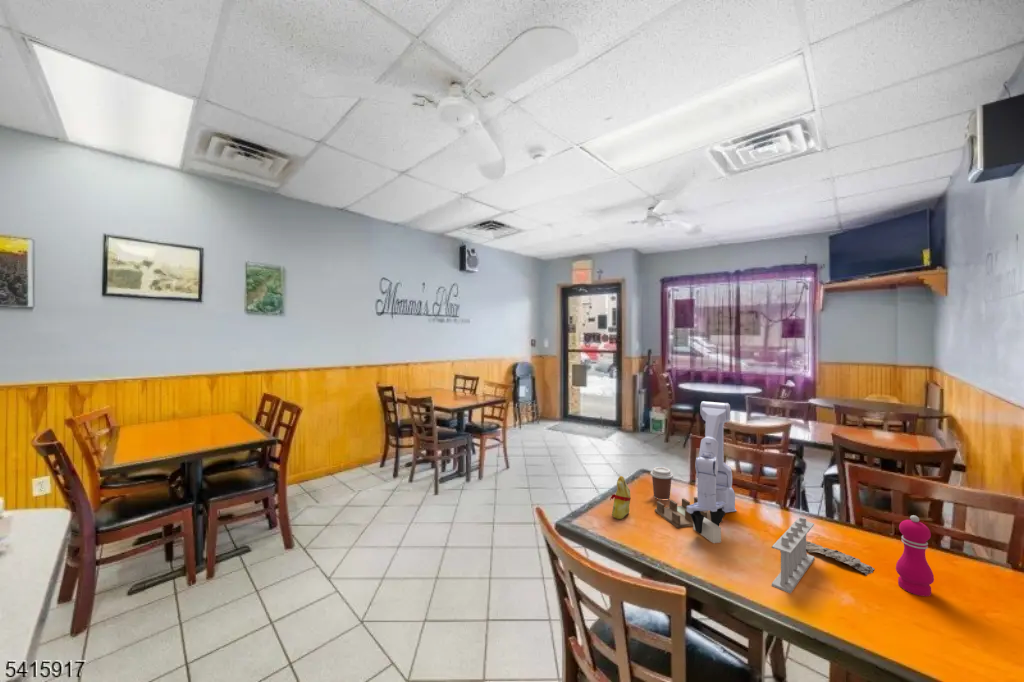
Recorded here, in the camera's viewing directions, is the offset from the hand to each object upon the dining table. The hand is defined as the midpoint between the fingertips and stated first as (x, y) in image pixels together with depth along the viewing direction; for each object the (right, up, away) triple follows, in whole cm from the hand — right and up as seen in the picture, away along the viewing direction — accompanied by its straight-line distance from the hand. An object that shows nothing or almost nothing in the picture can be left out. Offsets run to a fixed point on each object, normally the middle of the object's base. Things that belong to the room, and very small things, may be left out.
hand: (706, 531), depth 136 cm
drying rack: (0, -1, +14) cm, 14 cm away
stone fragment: (+30, -2, -12) cm, 32 cm away
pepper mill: (+42, -2, -29) cm, 51 cm away
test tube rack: (+15, -2, -21) cm, 26 cm away
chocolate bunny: (-25, -2, +17) cm, 30 cm away
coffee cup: (-3, -1, +32) cm, 32 cm away
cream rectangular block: (0, -2, 0) cm, 2 cm away
